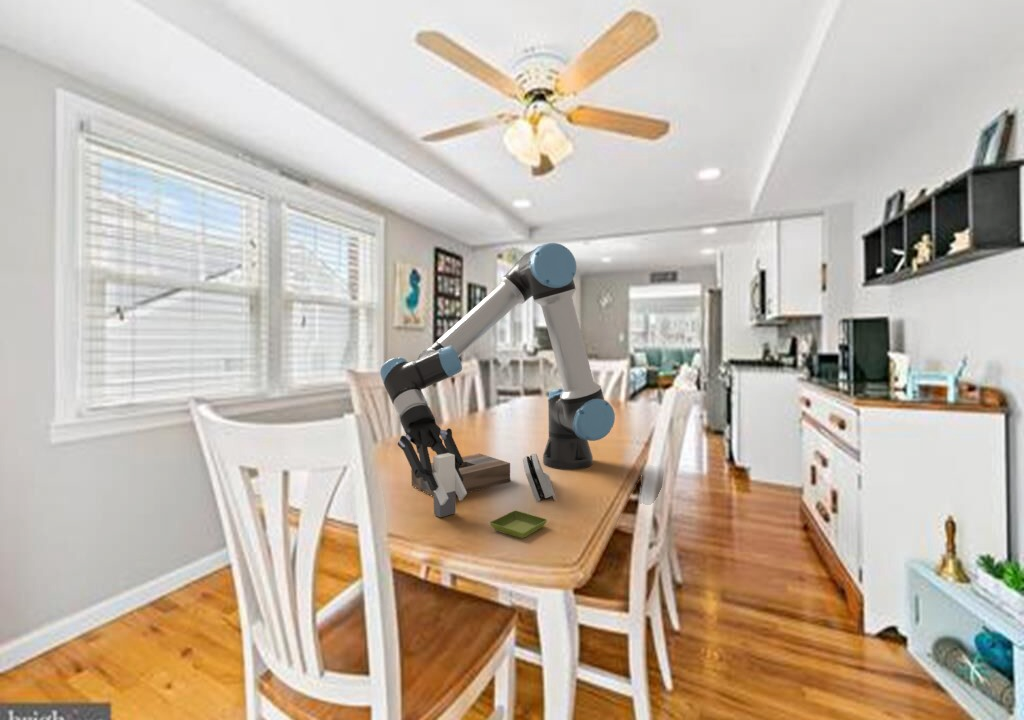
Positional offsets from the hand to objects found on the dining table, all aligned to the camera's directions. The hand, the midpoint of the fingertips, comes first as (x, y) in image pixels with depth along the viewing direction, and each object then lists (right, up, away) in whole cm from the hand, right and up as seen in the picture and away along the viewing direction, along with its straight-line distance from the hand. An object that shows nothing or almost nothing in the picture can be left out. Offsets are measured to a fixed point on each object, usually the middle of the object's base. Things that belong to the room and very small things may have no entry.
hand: (454, 499), depth 102 cm
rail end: (-2, -4, +3) cm, 6 cm away
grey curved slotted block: (+19, -4, +19) cm, 27 cm away
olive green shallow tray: (+14, -5, -5) cm, 16 cm away
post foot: (-1, -3, +25) cm, 25 cm away
